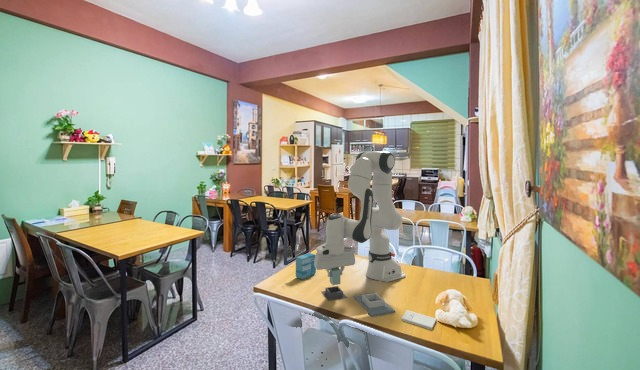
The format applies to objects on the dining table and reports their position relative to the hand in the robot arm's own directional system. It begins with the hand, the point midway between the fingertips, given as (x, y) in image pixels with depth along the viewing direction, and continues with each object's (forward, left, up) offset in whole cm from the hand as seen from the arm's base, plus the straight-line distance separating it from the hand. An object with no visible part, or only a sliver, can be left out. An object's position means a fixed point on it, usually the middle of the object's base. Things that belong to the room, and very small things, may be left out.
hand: (335, 275), depth 141 cm
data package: (+6, -28, -11) cm, 30 cm away
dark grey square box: (0, 0, -10) cm, 10 cm away
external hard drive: (-26, +30, -11) cm, 41 cm away
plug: (0, 0, -4) cm, 4 cm away
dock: (-14, +13, -10) cm, 22 cm away
